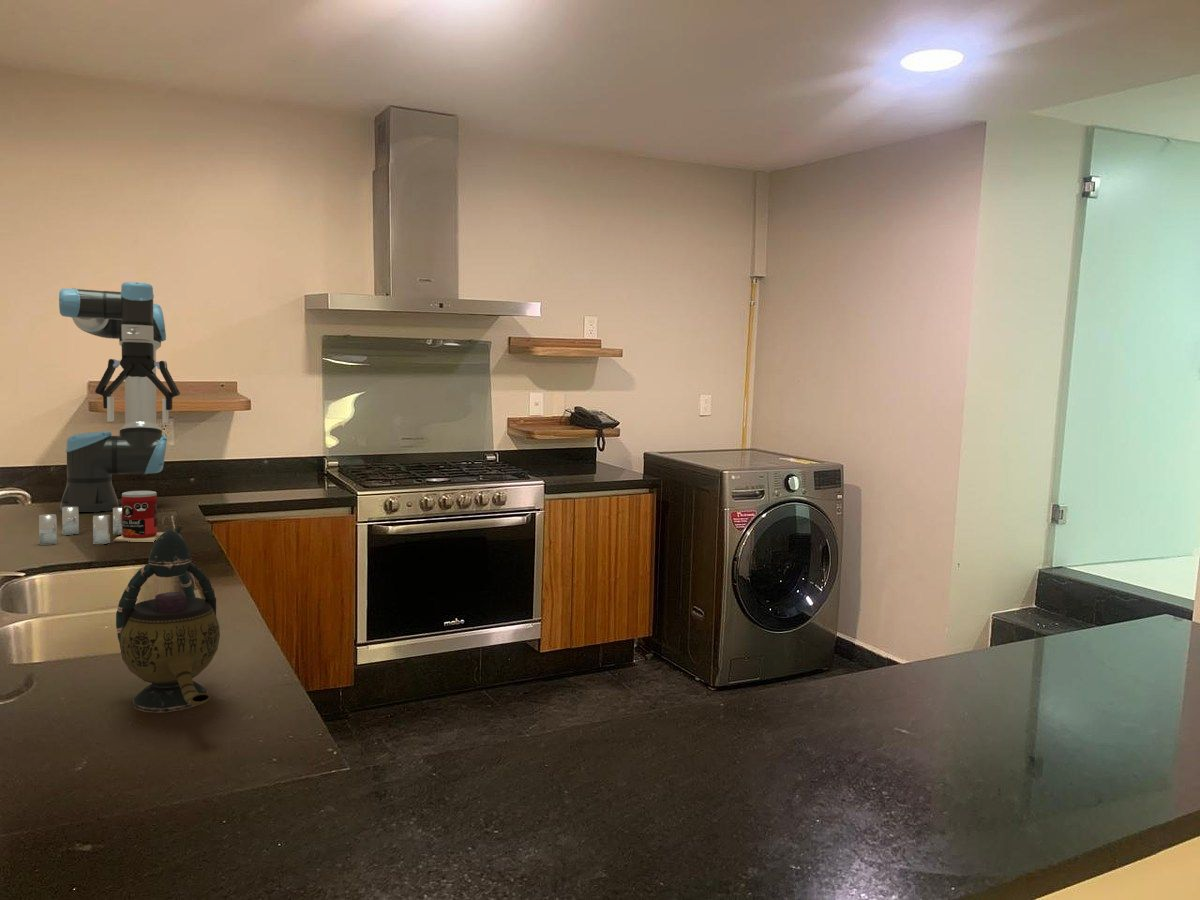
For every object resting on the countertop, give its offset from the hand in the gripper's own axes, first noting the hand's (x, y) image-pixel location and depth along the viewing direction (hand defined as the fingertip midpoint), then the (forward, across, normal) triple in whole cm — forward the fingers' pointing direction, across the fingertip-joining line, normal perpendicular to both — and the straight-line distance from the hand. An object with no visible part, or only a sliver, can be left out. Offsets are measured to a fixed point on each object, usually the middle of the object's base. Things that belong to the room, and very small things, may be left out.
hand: (138, 422), depth 237 cm
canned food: (+28, +5, -15) cm, 32 cm away
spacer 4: (+29, -2, -9) cm, 30 cm away
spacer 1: (+29, -14, -22) cm, 39 cm away
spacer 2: (+29, -14, -9) cm, 33 cm away
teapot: (+29, +47, -134) cm, 145 cm away
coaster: (+29, +5, -15) cm, 33 cm away
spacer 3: (+29, -2, -22) cm, 36 cm away
